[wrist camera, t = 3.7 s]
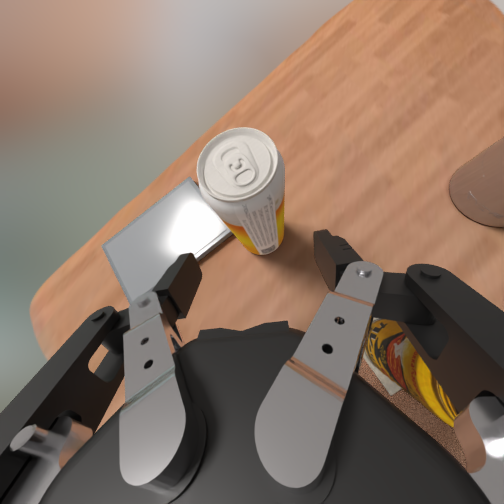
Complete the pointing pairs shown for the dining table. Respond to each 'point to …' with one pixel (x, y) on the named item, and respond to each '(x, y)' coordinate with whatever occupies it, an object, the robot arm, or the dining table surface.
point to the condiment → (405, 369)
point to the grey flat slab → (164, 238)
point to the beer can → (245, 186)
